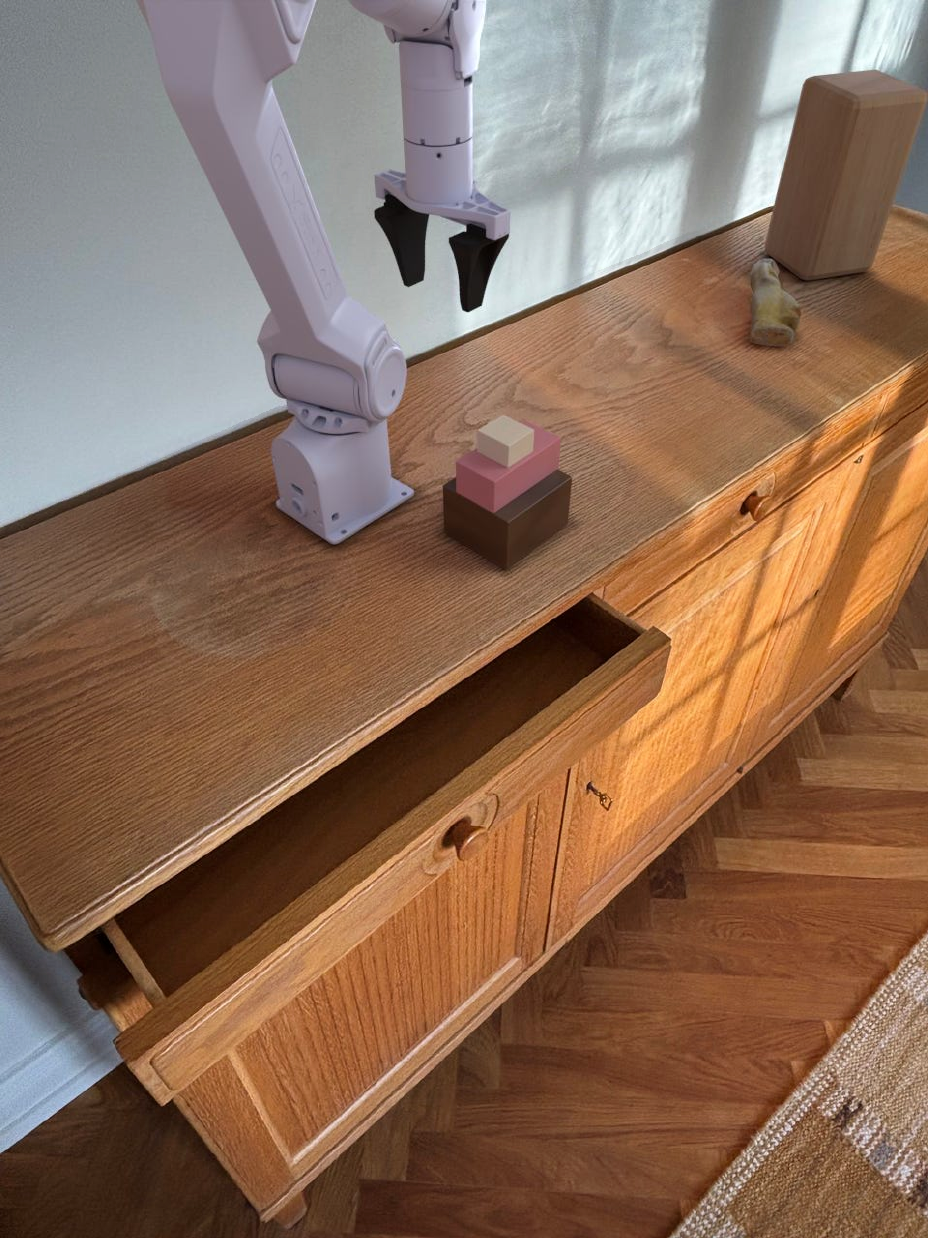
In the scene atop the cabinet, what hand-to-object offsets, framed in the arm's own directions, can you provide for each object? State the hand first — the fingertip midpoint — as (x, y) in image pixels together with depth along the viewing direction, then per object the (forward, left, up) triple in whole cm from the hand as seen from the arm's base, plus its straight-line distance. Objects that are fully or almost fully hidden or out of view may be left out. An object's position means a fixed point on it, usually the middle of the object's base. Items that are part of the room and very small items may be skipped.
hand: (442, 295), depth 81 cm
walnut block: (-12, -19, -10) cm, 25 cm away
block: (+54, -13, -11) cm, 57 cm away
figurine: (+37, -16, -11) cm, 42 cm away
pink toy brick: (-12, -19, -5) cm, 23 cm away
